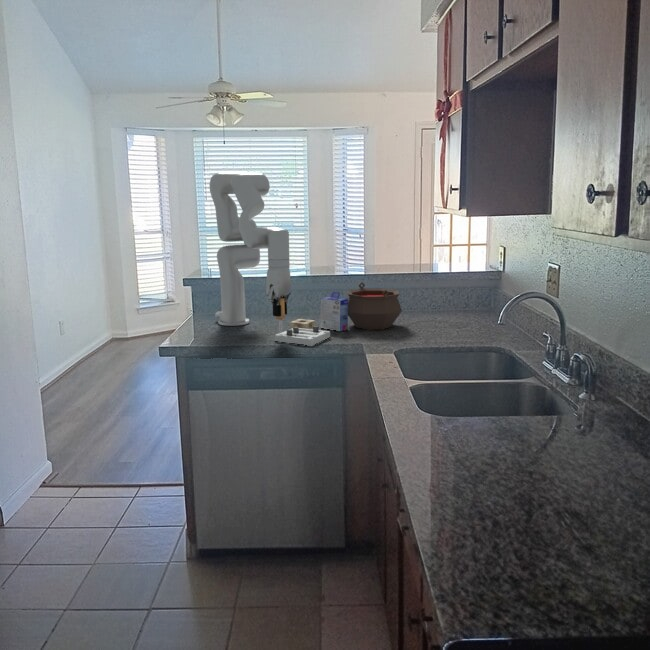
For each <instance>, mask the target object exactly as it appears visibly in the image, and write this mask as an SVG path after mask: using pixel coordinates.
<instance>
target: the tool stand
mask: <svg viewBox="0 0 650 650" xmlns="http://www.w3.org/2000/svg"><path fill="white" fill-rule="evenodd" d="M314 326H316V320H315V319H314V320H313V319H304V318H297V319H295V320H291V321H290V322H289V329H292V328H293V327H299V328H304V329H313V327H314Z"/></svg>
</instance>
